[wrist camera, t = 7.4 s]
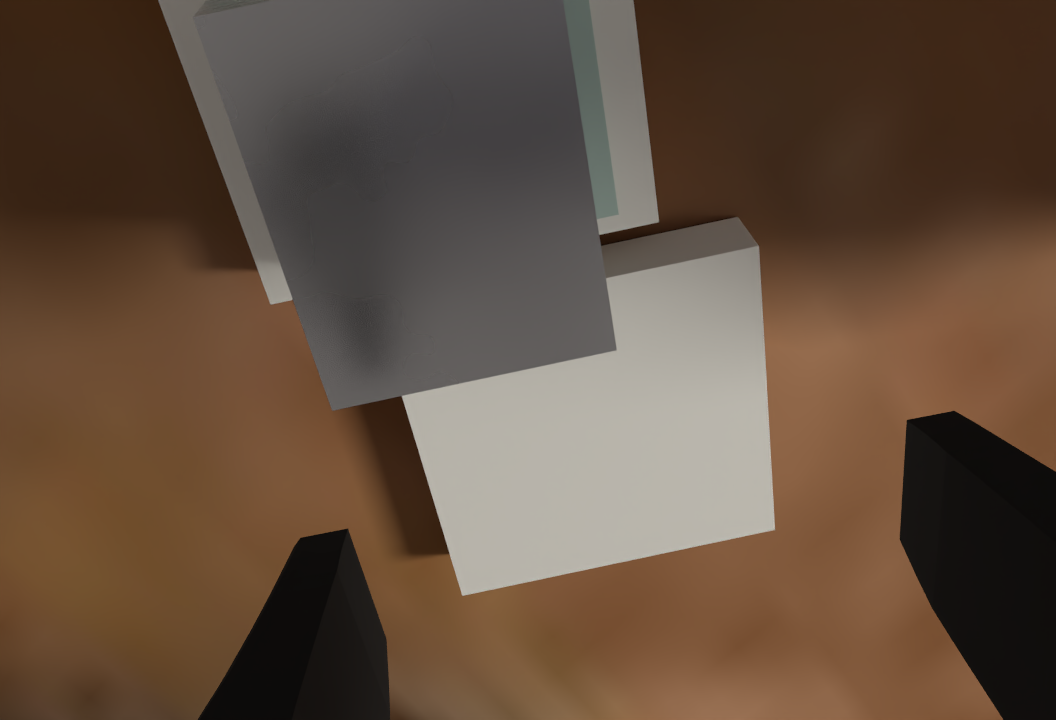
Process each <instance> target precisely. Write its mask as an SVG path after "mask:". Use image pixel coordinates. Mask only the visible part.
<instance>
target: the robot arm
mask: <svg viewBox="0 0 1056 720" xmlns="http://www.w3.org/2000/svg"><path fill="white" fill-rule="evenodd" d="M900 541H901V543H902V545H903V547H904V550H905V552H906V554H907V556H908V558H909V561H910V563H911V565H912V567H913V569H914V572H915V574H916V576H917V578H918V580H919V582H920V584H921V586H922V588H923V590H924V592H925V594H926V596H927V598H928V600H929V603H930V605H931V607H932V609H933V610H934V612H935V613H936V615H937V617H938V618H939V620H940V622H941V623H942V625H943V626H944V628H945V629H946V631H947V633H948V634H949V636H950V637H951V639H952V641H953V642H954V644H955V645H956V647H957V648H958V650H959V652H960V653H961V655H962V656H963V658H964V659H965V661H966V663H967V664H968V666H969V667H970V669H971V670H972V672H973V673H974V675H975V676H976V678H977V679H978V681H979V683H980V684H981V686H982V687H983V689H984V690H985V692H986V693H987V695H988V696H989V698H990V700H991V701H992V703H993V704H994V706H995V707H996V709H997V710H998V712H999V713H1000V715H1001V717H1002V718H1003V720H1056V472H1055V471H1053V470H1052V469H1050V468H1048V467H1047V466H1045V465H1043V464H1042V463H1040V462H1039V461H1037V460H1035V459H1034V458H1032V457H1030V456H1029V455H1027V454H1025V453H1024V452H1022V451H1020V450H1019V449H1017V448H1016V447H1014V446H1012V445H1011V444H1009V443H1007V442H1006V441H1004V440H1002V439H1001V438H999V437H998V436H996V435H994V434H993V433H991V432H989V431H988V430H986V429H984V428H983V427H981V426H979V425H978V424H976V423H974V422H973V421H971V420H969V419H968V418H966V417H964V416H962V415H961V414H959V413H957V412H955V411H951V412H946V413H941V414H936V415H931V416H926V417H920V418H915V419H910V420H907V427H906V444H905V460H904V477H903V494H902V510H901V527H900ZM198 720H390V702H389V677H388V660H387V642H386V637H385V634H384V631H383V628H382V625H381V622H380V619H379V617H378V614H377V611H376V608H375V605H374V602H373V599H372V597H371V594H370V591H369V588H368V585H367V582H366V579H365V577H364V574H363V571H362V568H361V565H360V562H359V559H358V557H357V554H356V551H355V548H354V545H353V542H352V539H351V536H350V534H349V531H348V529H344V530H339V531H334V532H328V533H323V534H318V535H313V536H308V537H303V538H300V540H299V541H298V542H297V544H296V545H295V546H294V548H293V550H292V552H291V554H290V556H289V558H288V560H287V562H286V564H285V566H284V568H283V570H282V572H281V574H280V576H279V578H278V580H277V582H276V584H275V586H274V588H273V590H272V592H271V594H270V596H269V598H268V599H267V601H266V603H265V605H264V607H263V609H262V611H261V613H260V615H259V616H258V618H257V620H256V622H255V624H254V626H253V628H252V629H251V631H250V633H249V635H248V636H247V638H246V640H245V642H244V643H243V645H242V647H241V649H240V651H239V652H238V654H237V656H236V658H235V659H234V661H233V663H232V665H231V666H230V668H229V670H228V672H227V673H226V675H225V677H224V678H223V680H222V682H221V683H220V685H219V687H218V688H217V690H216V692H215V693H214V695H213V696H212V698H211V699H210V701H209V703H208V704H207V706H206V707H205V709H204V710H203V712H202V714H201V715H200V717H199V718H198Z"/></svg>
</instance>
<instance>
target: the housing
mask: <svg viewBox="0 0 1056 720" xmlns="http://www.w3.org/2000/svg"><path fill="white" fill-rule="evenodd" d="M193 20H194V22H195V25H196V28H197V31H198V34H199V37H200V39H201V42H202V45H203V48H204V51H205V53H206V56H207V59H208V62H209V65H210V68H211V70H212V73H213V76H214V79H215V82H216V84H217V87H218V90H219V93H220V96H221V99H222V101H223V104H224V107H225V110H226V113H227V115H228V118H229V121H230V124H231V127H232V130H233V132H234V135H235V138H236V141H237V144H238V146H239V149H240V152H241V155H242V158H243V161H244V163H245V166H246V169H247V172H248V175H249V177H250V180H251V183H252V186H253V189H254V192H255V194H256V197H257V200H258V203H259V206H260V208H261V211H262V214H263V217H264V220H265V223H266V225H267V228H268V231H269V234H270V237H271V239H272V242H273V245H274V248H275V251H276V254H277V256H278V259H279V262H280V265H281V268H282V270H283V273H284V276H285V279H286V282H287V285H288V287H289V290H290V293H291V296H292V299H293V301H294V304H295V307H296V310H297V313H298V316H299V318H300V321H301V324H302V327H303V330H304V332H305V335H306V338H307V341H308V344H309V347H310V349H311V352H312V355H313V358H314V361H315V363H316V366H317V369H318V372H319V375H320V378H321V380H322V383H323V386H324V389H325V392H326V394H327V397H328V400H329V403H330V406H331V409H332V411H333V410H338V409H342V408H347V407H352V406H357V405H361V404H366V403H371V402H375V401H380V400H385V399H390V398H394V397H399V396H404V395H408V394H413V393H418V392H423V391H427V390H432V389H437V388H441V387H446V386H451V385H456V384H460V383H465V382H470V381H474V380H479V379H484V378H489V377H493V376H498V375H503V374H507V373H512V372H517V371H522V370H526V369H531V368H536V367H541V366H545V365H550V364H555V363H559V362H564V361H569V360H574V359H578V358H583V357H588V356H592V355H597V354H602V353H607V352H611V351H616V350H617V347H616V341H615V334H614V328H613V321H612V315H611V308H610V302H609V295H608V289H607V282H606V276H605V269H604V263H603V256H602V250H601V243H600V237H599V230H598V224H597V217H596V211H595V204H594V198H593V191H592V185H591V178H590V172H589V165H588V159H587V152H586V146H585V139H584V133H583V126H582V120H581V113H580V107H579V100H578V94H577V87H576V81H575V74H574V68H573V61H572V55H571V48H570V42H569V35H568V29H567V22H566V16H565V9H564V3H563V0H206V1H205V2H204V4H203V5H202V6H201V7H200V9H199V10H198V11H197V12H196V14H195V15H194V16H193Z"/></svg>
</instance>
